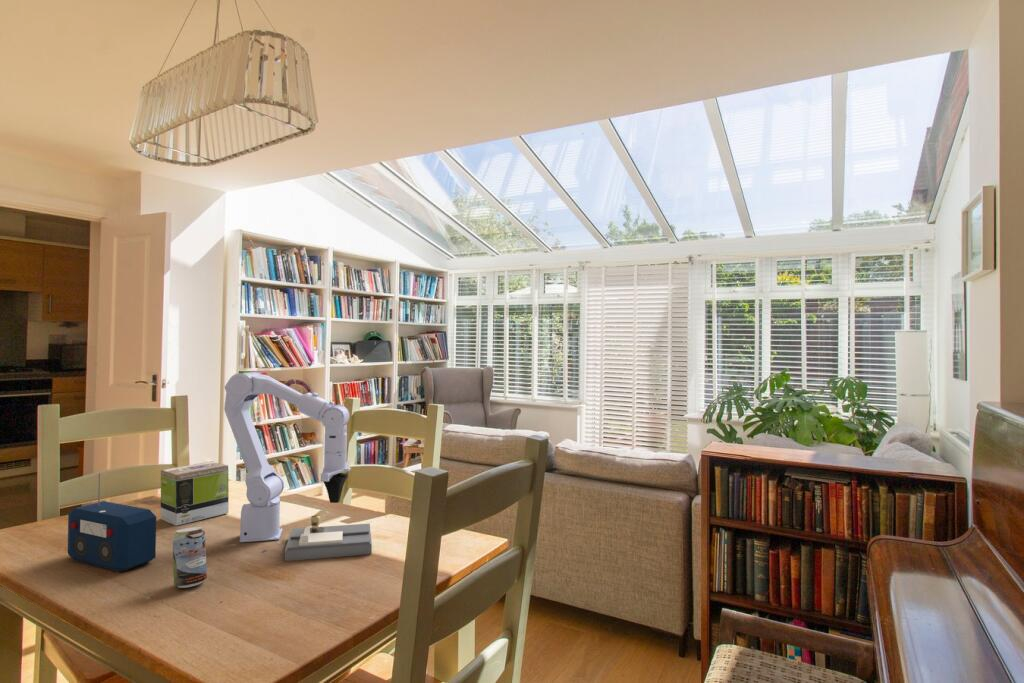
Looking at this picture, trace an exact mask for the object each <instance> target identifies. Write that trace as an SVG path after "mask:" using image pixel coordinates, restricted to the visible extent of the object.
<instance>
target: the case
mask: <svg viewBox="0 0 1024 683" xmlns="http://www.w3.org/2000/svg"><path fill="white" fill-rule="evenodd" d="M370 524H371V523H359V524H343V525H330V526H329V525H328V526H318V531H312V526H311V527H310V533H324V532H338V531H343V538H342V543H337V544H323V545H310V546H299V541H300V537H301V534H304V530H305V528H306V527H300V528H291V531H290V533H289V537H288V540H287V542H286V546H285V549H284V562H290V561H291V562H292V561H302V560H303V561H305V560H315V559H316V560H318V559H326V558H327V559H328V558H339V557H351V556H365V555H372V554H373V553H372V551H373V550H372V549H373V548H372V547H373V546H372V544H373V543H372V533H371V525H370Z"/></svg>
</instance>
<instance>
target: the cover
mask: <svg viewBox="0 0 1024 683" xmlns="http://www.w3.org/2000/svg"><path fill="white" fill-rule="evenodd" d="M304 528H305V530H304V534H301V537H300V541H299V546H310V545H323V544H337V543H342V538H343V531H338V532H324V533H310V528H311V527H304Z"/></svg>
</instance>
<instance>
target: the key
mask: <svg viewBox="0 0 1024 683" xmlns="http://www.w3.org/2000/svg"><path fill="white" fill-rule="evenodd" d="M327 510H328V509H320V510H319V511H318V512H316V513H315V514H314V515H311V517H310V521H311V522H310V524H311V527H312V531H318V527H319V525H320V523H323V521H324V520H325V519H327V517H328V513H327V512H328V511H327Z"/></svg>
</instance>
